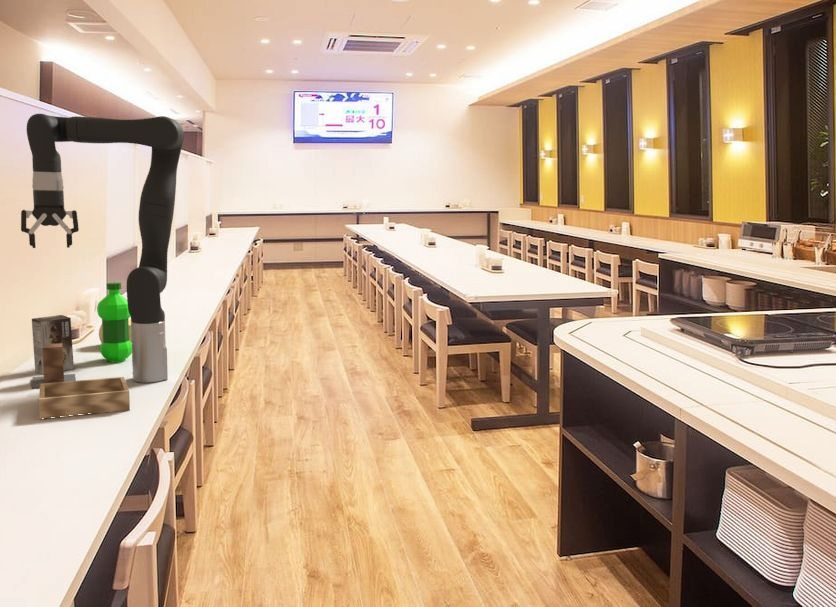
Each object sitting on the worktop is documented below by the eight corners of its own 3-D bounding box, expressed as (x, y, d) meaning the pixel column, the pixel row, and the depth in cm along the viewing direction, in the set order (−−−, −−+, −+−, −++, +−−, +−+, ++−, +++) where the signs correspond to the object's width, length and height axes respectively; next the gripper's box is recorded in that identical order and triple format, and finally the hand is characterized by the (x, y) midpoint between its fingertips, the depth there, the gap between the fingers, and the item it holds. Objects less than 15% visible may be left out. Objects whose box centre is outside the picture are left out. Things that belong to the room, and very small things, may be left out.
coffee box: (64, 365, 223) (61, 314, 220) (74, 369, 219) (71, 317, 216) (33, 370, 216) (30, 318, 213) (43, 374, 212) (40, 320, 209)
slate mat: (75, 375, 211) (75, 373, 211) (76, 385, 202) (76, 382, 201) (32, 379, 206) (32, 377, 206) (31, 388, 197) (31, 386, 197)
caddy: (124, 394, 193) (124, 376, 193) (129, 410, 180) (129, 391, 179) (41, 402, 185) (40, 383, 184) (40, 419, 171) (38, 399, 171)
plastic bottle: (139, 357, 236) (137, 281, 232) (123, 364, 226) (120, 286, 222) (110, 355, 237) (107, 280, 233) (93, 363, 227) (89, 284, 223)
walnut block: (64, 377, 207) (62, 343, 206) (64, 381, 203) (62, 346, 201) (44, 378, 205) (42, 344, 203) (44, 382, 201) (42, 348, 199)
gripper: (76, 189, 204) (79, 246, 207) (19, 188, 198) (22, 246, 200) (77, 189, 198) (79, 248, 200) (18, 188, 191) (21, 249, 194)
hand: (51, 247), depth 200 cm, fingers open, 8 cm apart
